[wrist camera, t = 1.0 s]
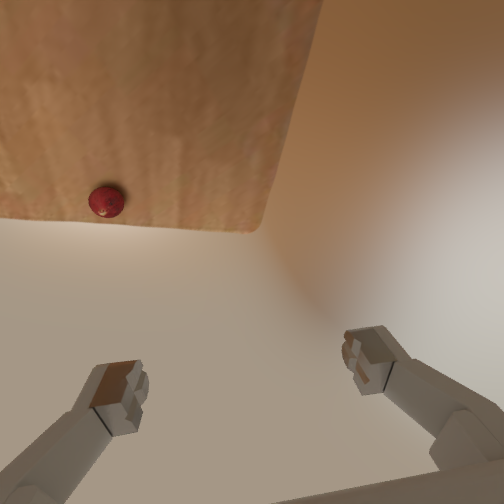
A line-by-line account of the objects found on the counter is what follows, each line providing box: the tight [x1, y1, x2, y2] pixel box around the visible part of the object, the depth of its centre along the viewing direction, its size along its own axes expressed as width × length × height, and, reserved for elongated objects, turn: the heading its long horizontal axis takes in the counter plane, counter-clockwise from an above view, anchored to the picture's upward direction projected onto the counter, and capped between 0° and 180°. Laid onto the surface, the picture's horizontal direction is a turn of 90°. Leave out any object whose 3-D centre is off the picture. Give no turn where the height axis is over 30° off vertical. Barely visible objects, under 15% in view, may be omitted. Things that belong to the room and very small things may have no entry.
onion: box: [88, 187, 124, 218], centre depth 45 cm, size 6×6×8 cm
